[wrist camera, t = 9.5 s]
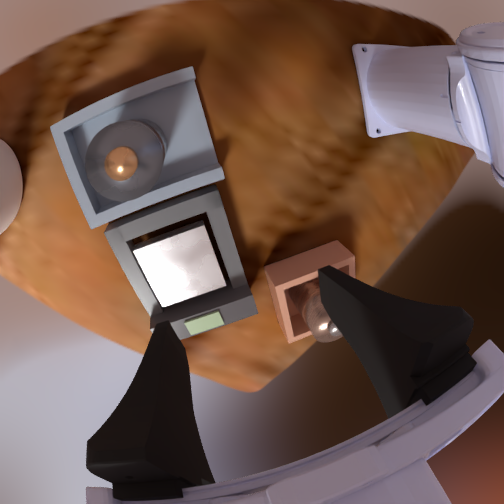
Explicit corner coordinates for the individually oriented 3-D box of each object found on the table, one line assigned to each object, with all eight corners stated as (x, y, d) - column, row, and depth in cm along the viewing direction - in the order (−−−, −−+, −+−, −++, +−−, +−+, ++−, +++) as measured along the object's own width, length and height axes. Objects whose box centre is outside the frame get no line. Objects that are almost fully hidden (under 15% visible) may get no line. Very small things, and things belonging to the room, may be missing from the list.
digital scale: (108, 224, 19) (98, 243, 16) (215, 184, 20) (222, 197, 17) (160, 321, 24) (161, 347, 21) (249, 291, 25) (259, 314, 22)
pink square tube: (337, 239, 25) (354, 255, 22) (341, 297, 28) (355, 315, 26) (263, 266, 24) (275, 286, 21) (278, 322, 28) (288, 343, 25)
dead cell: (327, 262, 25) (363, 300, 20) (327, 296, 27) (359, 336, 22) (286, 275, 24) (315, 319, 19) (290, 309, 26) (316, 353, 21)
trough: (191, 70, 15) (192, 66, 14) (220, 172, 19) (225, 178, 18) (60, 124, 14) (50, 126, 13) (97, 219, 18) (91, 229, 17)
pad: (134, 244, 19) (133, 251, 18) (202, 219, 19) (204, 225, 19) (162, 299, 22) (162, 307, 21) (224, 278, 22) (226, 285, 21)
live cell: (157, 109, 16) (148, 108, 11) (174, 165, 18) (173, 188, 13) (101, 132, 15) (70, 142, 10) (120, 185, 17) (99, 216, 12)
